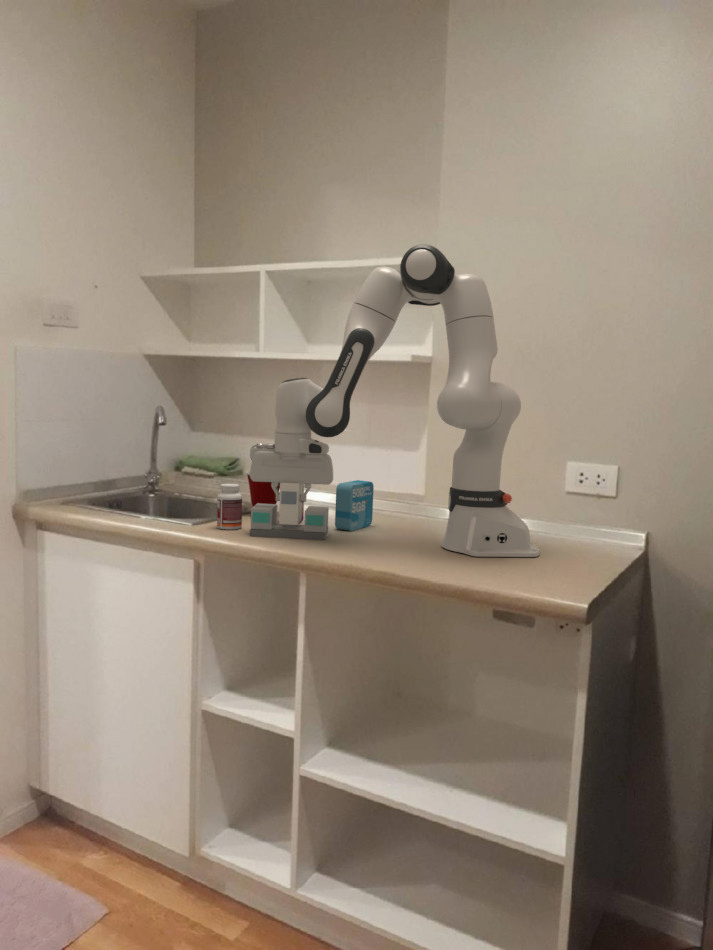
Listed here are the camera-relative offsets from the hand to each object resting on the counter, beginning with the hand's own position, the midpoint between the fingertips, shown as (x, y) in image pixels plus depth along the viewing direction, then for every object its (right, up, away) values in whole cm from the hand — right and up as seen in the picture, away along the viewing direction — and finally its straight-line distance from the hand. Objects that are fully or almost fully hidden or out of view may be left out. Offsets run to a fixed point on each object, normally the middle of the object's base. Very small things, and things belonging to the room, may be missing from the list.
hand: (291, 501), depth 182 cm
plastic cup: (-10, -5, +27) cm, 29 cm away
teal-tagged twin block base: (0, -8, +1) cm, 8 cm away
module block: (0, -5, +1) cm, 5 cm away
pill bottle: (-16, -7, +6) cm, 19 cm away
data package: (+15, -8, +13) cm, 22 cm away
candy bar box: (-1, -7, +17) cm, 18 cm away
